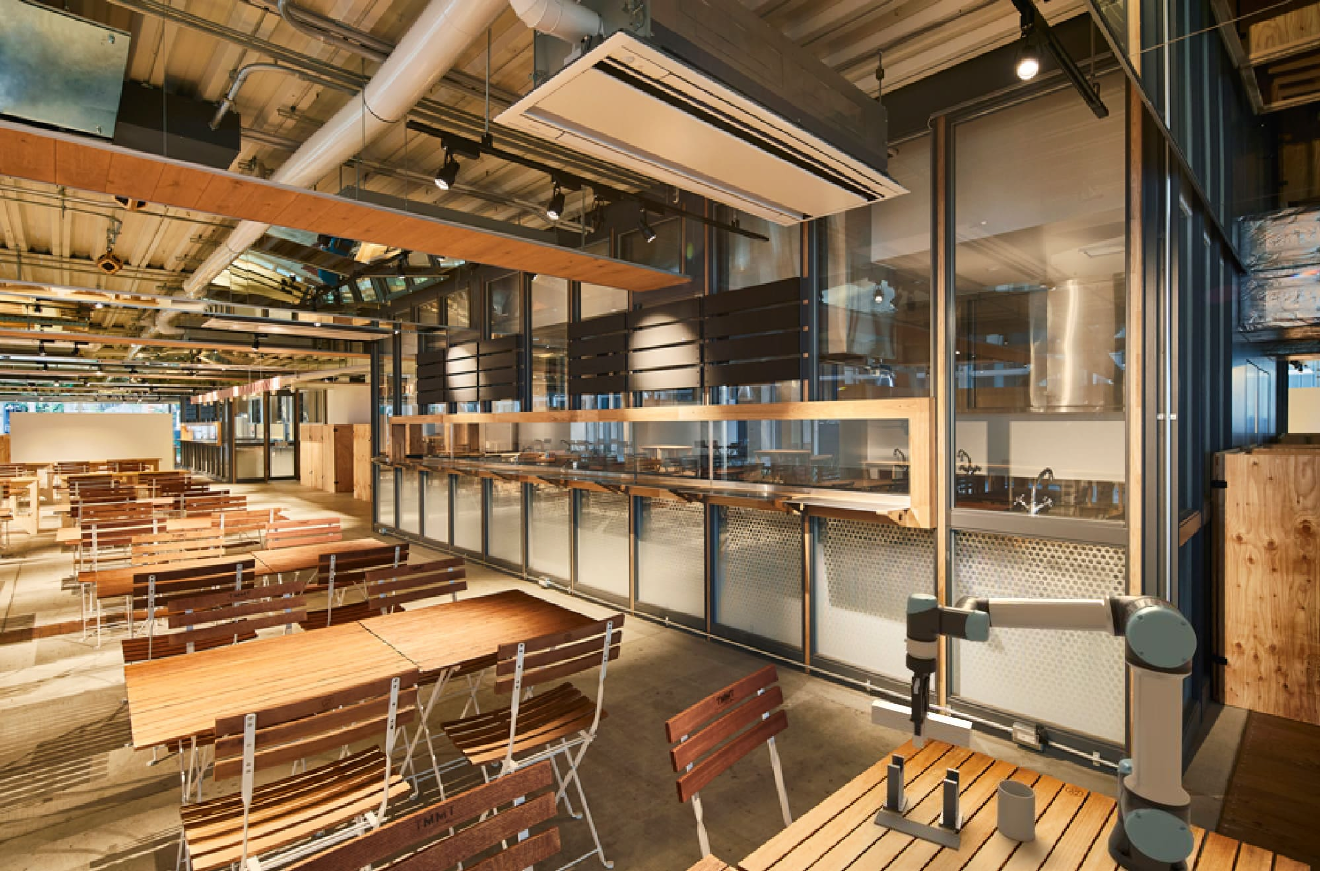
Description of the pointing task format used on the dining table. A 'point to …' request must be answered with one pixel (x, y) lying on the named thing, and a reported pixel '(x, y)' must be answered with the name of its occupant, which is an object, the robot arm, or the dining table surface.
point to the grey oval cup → (1016, 810)
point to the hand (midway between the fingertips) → (919, 742)
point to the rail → (933, 723)
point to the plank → (918, 829)
